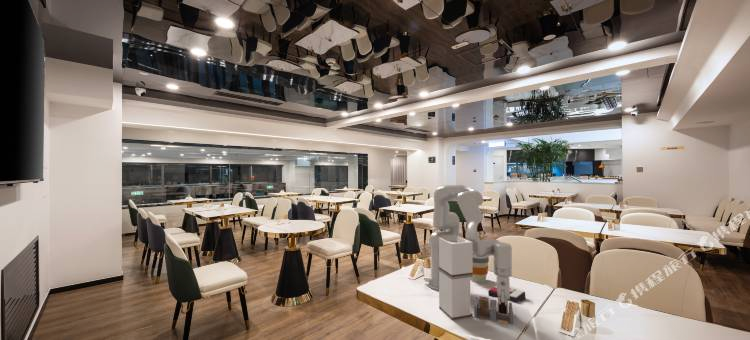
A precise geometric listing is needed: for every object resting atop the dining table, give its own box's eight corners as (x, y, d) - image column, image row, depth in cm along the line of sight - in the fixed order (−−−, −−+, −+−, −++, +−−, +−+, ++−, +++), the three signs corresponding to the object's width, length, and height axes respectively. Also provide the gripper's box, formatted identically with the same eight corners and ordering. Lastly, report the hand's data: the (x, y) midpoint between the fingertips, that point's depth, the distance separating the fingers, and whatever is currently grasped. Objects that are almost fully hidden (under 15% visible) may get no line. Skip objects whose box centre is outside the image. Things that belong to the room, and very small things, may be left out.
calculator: (497, 283, 165) (525, 290, 154) (497, 291, 165) (525, 298, 154) (487, 289, 158) (516, 296, 147) (488, 297, 158) (517, 305, 147)
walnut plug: (479, 314, 136) (479, 299, 135) (479, 310, 139) (479, 296, 139) (488, 316, 134) (488, 301, 134) (488, 312, 138) (488, 297, 138)
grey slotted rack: (474, 319, 134) (474, 306, 133) (475, 309, 143) (475, 297, 143) (513, 326, 128) (513, 312, 127) (511, 315, 137) (511, 302, 137)
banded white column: (472, 318, 134) (472, 242, 134) (451, 322, 131) (451, 244, 131) (458, 307, 145) (458, 236, 145) (439, 310, 142) (439, 238, 142)
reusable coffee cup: (463, 276, 185) (463, 252, 185) (482, 275, 186) (482, 252, 186) (472, 284, 172) (472, 259, 172) (492, 283, 174) (492, 258, 174)
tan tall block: (507, 315, 131) (507, 299, 131) (498, 313, 133) (498, 298, 132) (507, 311, 135) (507, 295, 135) (497, 309, 136) (497, 294, 136)
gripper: (512, 278, 124) (512, 321, 125) (510, 265, 140) (510, 304, 140) (493, 276, 127) (493, 318, 127) (493, 264, 142) (493, 301, 143)
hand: (502, 310), depth 134 cm, fingers closed on tan tall block, 3 cm apart
